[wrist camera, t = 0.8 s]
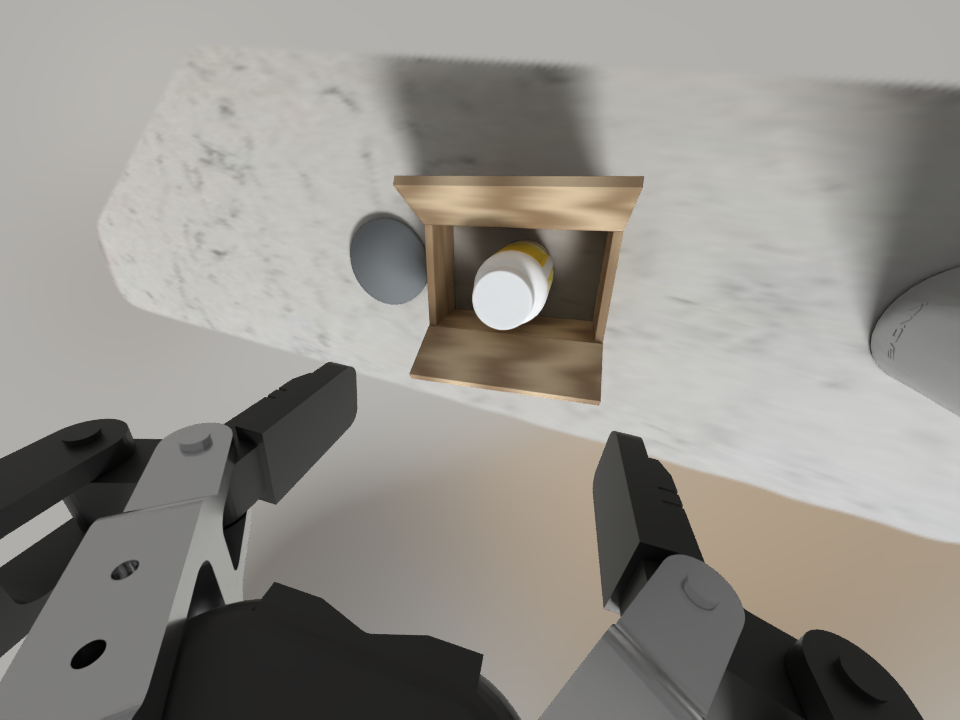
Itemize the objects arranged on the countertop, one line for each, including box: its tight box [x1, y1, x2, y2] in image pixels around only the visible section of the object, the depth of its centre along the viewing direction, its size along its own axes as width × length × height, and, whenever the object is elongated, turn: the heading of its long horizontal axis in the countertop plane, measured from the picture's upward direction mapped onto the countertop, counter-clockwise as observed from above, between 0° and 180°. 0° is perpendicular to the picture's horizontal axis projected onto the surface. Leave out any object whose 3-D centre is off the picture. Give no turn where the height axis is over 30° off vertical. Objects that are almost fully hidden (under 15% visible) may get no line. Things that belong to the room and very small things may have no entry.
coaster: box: [350, 219, 427, 305], centre depth 33 cm, size 8×8×1 cm
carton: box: [393, 176, 644, 405], centre depth 26 cm, size 14×14×10 cm
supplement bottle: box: [472, 240, 554, 330], centre depth 26 cm, size 5×5×10 cm
